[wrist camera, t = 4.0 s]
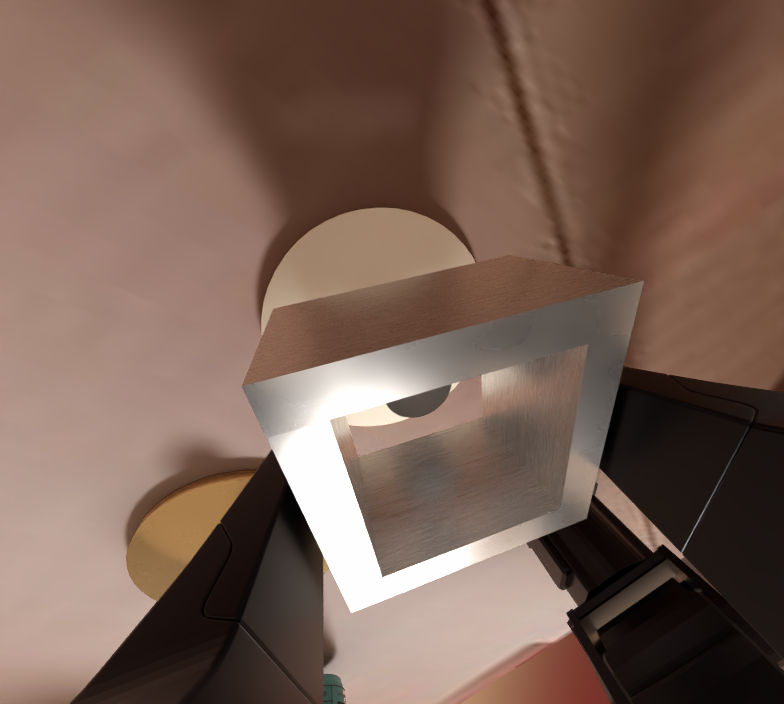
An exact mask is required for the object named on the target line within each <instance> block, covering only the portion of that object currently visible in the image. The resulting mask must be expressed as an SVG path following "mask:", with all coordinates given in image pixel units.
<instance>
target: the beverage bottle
mask: <svg viewBox="0 0 784 704" xmlns="http://www.w3.org/2000/svg"><path fill="white" fill-rule="evenodd" d="M343 689H344V688H343V686H342V683H341V679H340V678H339V677H338V676H336V675H333V674H323V704H344V703H345V702H344V698H346V697H345V695H343ZM344 691H345V690H344ZM345 701H346V699H345Z"/></svg>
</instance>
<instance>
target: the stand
mask: <svg viewBox="0 0 784 704" xmlns="http://www.w3.org/2000/svg"><path fill="white" fill-rule="evenodd" d="M472 263H476V262H475V261H474V259H473V257H472V255H471V254H470V252H469V251H468V250H467V248H466V247H465V245H464V244H463V243H462V242H461V241H460V240H459V239H458V238H457V237H456V236H455V235H454V234H453V233H452V232H450V231H449V230H448V229H447V228H445V227H444V226H443V225H441V224H439V223H438V222H436V221H434V220H432V219H430V218H428V217H426V216H423V215H421V214H418V213H415V212H412V211H407V210H402V209H397V208H369V209H360V210H355V211H351V212H347V213H344V214H340V215H338V216H336V217H333V218H331V219H329V220H326V221H324V222H323V223H321V224H320V225H318V226H316V227H315V228H313V229H311V230H310V231H309V232H308V233H307V234H305V235H304V236H303V237H302V238H301V239H299V240H298V241H297V242H296V243H295V244H294V246H293V247H292V248H291V249H290V250H289V251H288V252H287V253H286V255H285V256H284V258H283V260H282V261H281V263H280V264H279V266H278V267H277V269H276V270H275V272H274V275H273V277H272V279H271V281H270V283H269V285H268V288H267V292H266V295H265V299H264V302H263V309H262V317H261V333H262V335H263V333H264V330H265V328H266V325H267V323H268V320H269V318H270V315H271V313H272V310H273V308H278V307H282V306H287V305H291V304H295V303H300V302H304V301H309V300H313V299H317V298H322V297H326V296H331V295H335V294H340V293H344V292H348V291H353V290H357V289H362V288H366V287H370V286H375V285H379V284H384V283H388V282H392V281H397V280H401V279H406V278H410V277H415V276H419V275H423V274H428V273H432V272H437V271H441V270H445V269H450V268H454V267H459V266H463V265H467V264H472ZM458 383H459V382H457V383H453V384H450V385H446V386H443V387H440V388H436V389H433V390H429V391H426V392H423V393H419V394H416V395H412V396H409V397H405V398H402V399H399V400H395V401H392V402H388V403H385V404H382V405H378V406H375V407H371V408H368V409H365V410H361V411H358V412H354V413H351V414H348V415H346V418H347V421H348V425H354V426H379V425H386V424H391V423H395V422H399V421H402V420H405V419H408V418H414V417H420V416H424V415H426V414H429V413H431V412H432V411H434V410H435V409H437V408H438V407H439V406H440V405H441V404H442V403H443V402H444V401H445V399H446V398H447V396H448V394H449V393H450V392H451V391H452V390H453V389H454V388H455V387H456V385H457V384H458Z"/></svg>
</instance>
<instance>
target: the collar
mask: <svg viewBox="0 0 784 704" xmlns="http://www.w3.org/2000/svg"><path fill="white" fill-rule="evenodd" d="M643 283H644V281H643V280H638V279H633V278H627V277H622V276H617V275H612V274H606V273H601V272H596V271H591V270H585V269H580V268H575V267H570V266H564V265H559V264H554V263H549V262H543V261H538V260H533V259H528V258H522V257H517V256H512V255H507V256H503V257H498V258H494V259H490V260H485V261H481V262H476V263H472V264H467V265H463V266H459V267H454V268H450V269H445V270H441V271H437V272H432V273H428V274H423V275H419V276H415V277H410V278H406V279H401V280H397V281H392V282H388V283H384V284H379V285H375V286H370V287H366V288H362V289H357V290H353V291H348V292H344V293H340V294H335V295H331V296H326V297H322V298H317V299H313V300H309V301H304V302H300V303H295V304H291V305H287V306H282V307H278V308H273V310H272V313H271V315H270V318H269V320H268V323H267V325H266V328H265V330H264V333H263V335H262V338H261V340H260V343H259V345H258V348H257V350H256V352H255V355H254V357H253V360H252V362H251V365H250V367H249V370H248V372H247V375H246V377H245V380H244V382H243V385H242V388H243V390H244V392H245V394H246V396H247V398H248V400H249V402H250V404H251V407H252V409H253V411H254V413H255V415H256V417H257V419H258V421H259V423H260V425H261V427H262V429H263V431H264V433H265V435H266V437H267V440H268V442H269V444H270V446H271V448H272V450H273V452H274V454H275V456H276V458H277V460H278V462H279V464H280V466H281V468H282V471H283V473H284V475H285V477H286V479H287V481H288V483H289V485H290V487H291V489H292V491H293V493H294V495H295V497H296V499H297V501H298V504H299V506H300V508H301V510H302V512H303V514H304V516H305V518H306V520H307V522H308V524H309V526H310V528H311V530H312V532H313V535H314V537H315V539H316V541H317V543H318V545H319V547H320V549H321V551H322V553H323V555H324V557H325V559H326V561H327V563H328V565H329V568H330V570H331V572H332V574H333V576H334V578H335V580H336V582H337V584H338V586H339V588H340V590H341V592H342V594H343V596H344V599H345V601H346V603H347V605H348V607H349V609H350V611H351V613H353V612H355V611H358V610H360V609H363V608H365V607H368V606H370V605H373V604H375V603H378V602H380V601H382V600H385V599H387V598H390V597H392V596H395V595H397V594H400V593H402V592H405V591H407V590H410V589H412V588H415V587H417V586H420V585H422V584H425V583H427V582H430V581H432V580H435V579H437V578H440V577H442V576H445V575H447V574H450V573H452V572H455V571H457V570H460V569H462V568H465V567H467V566H470V565H472V564H475V563H477V562H480V561H482V560H485V559H487V558H490V557H492V556H495V555H497V554H500V553H502V552H505V551H507V550H510V549H512V548H515V547H517V546H520V545H522V544H524V543H527V542H529V541H532V540H534V539H537V538H539V537H542V536H544V535H547V534H549V533H552V532H554V531H557V530H559V529H562V528H564V527H567V526H569V525H572V524H574V523H577V522H579V521H582V520H584V519H587V515H588V510H589V506H590V502H591V498H592V494H593V490H594V486H595V482H596V477H597V473H598V469H599V465H600V461H601V457H602V453H603V448H604V444H605V440H606V436H607V432H608V428H609V424H610V420H611V415H612V411H613V407H614V403H615V399H616V395H617V391H618V386H619V382H620V378H621V374H622V370H623V366H624V362H625V358H626V353H627V349H628V345H629V341H630V337H631V333H632V329H633V324H634V320H635V316H636V312H637V308H638V304H639V300H640V296H641V291H642V287H643ZM481 375H482V415H483V418H481V419H477V420H474V421H471V422H468V423H465V424H462V425H459V426H455V427H452V428H449V429H446V430H443V431H440V432H437V433H433V434H430V435H427V436H424V437H421V438H418V439H415V440H412V441H408V442H405V443H402V444H399V445H396V446H393V447H390V448H386V449H383V450H380V451H377V452H374V453H371V454H368V455H364V456H361V457H358V455H357V451H356V448H355V445H354V441H353V438H352V435H351V431H350V428H349V425H348V421H347V418H346V415H348V414H351V413H354V412H358V411H361V410H365V409H368V408H371V407H375V406H378V405H382V404H385V403H388V402H392V401H395V400H399V399H402V398H405V397H409V396H412V395H416V394H419V393H423V392H426V391H429V390H433V389H436V388H440V387H443V386H446V385H450V384H453V383H457V382H460V381H463V380H467V379H470V378H474V377H477V376H481Z"/></svg>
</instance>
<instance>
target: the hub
mask: <svg viewBox="0 0 784 704" xmlns="http://www.w3.org/2000/svg"><path fill="white" fill-rule="evenodd" d="M256 471H257V470H245V471H235V472H229V473H223V474H219V475H215V476H211V477H207V478H204V479H201V480H198V481H196V482H193V483H191V484H188V485H186V486H184V487H182V488H180V489H178V490H176V491H175V492H173V493H171V494H170V495H168V496H166V497H165V498H164V499H163V500H161V501H160V502H159V503H158V504H156V505H155V506H154V507H153V508H152V509H151V510H150V511H149V512H148V513H147V515H146V516H145V517H144V519H143V520H142V522H141V523H140V525H139V527H138V529H137V530H136V532H135V534H134V536H133V538H132V540H131V542H130V545H129V547H128V551H127V556H126V561H127V569H128V572H129V575H130V577H131V579H132V580H133V582H134V584H135V585H136V586H137V587H138V588H139V589H140V590H141V591H142V592H144V593H145V594H146V595H148V596H149V597H151V598H153V599H154V600H156V601H158V600H159V599H160V597H161V596H162V595H163V594H164V593H165V591H166V590H167V589H168V588H169V586H170V585H171V584H172V583H173V582H174V580H175V579H176V578H177V577H178V575H179V574H180V573H181V572H182V570H183V569H184V568H185V567H186V565H187V564H188V563H189V562H190V560H191V559H192V558H193V556H194V555H195V554H196V552H197V551H198V550H199V548H200V547H201V546H202V544H203V543H204V542H205V540H206V539H207V538H208V536H209V535H210V534H211V532H212V531H213V530H214V528H215V527H216V525H217V524H219V523H220V520H221V519H222V517H223V516H224V515H225V513H226V512H227V510H228V509H229V508H230V506H231V505H232V504H233V502H234V501H235V499H236V498H237V497H238V495H239V494H240V493H241V491H242V490H243V488H244V487H245V486H246V484H247V483H248V482H249V480H250V479H251V477H252V476H253V475H254V473H255V472H256ZM220 524H221V523H220ZM328 569H329V565H328V563H327V561H326V559H325V557H324V555H323V574H324V573H325V572H326V571H327V570H328Z"/></svg>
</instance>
